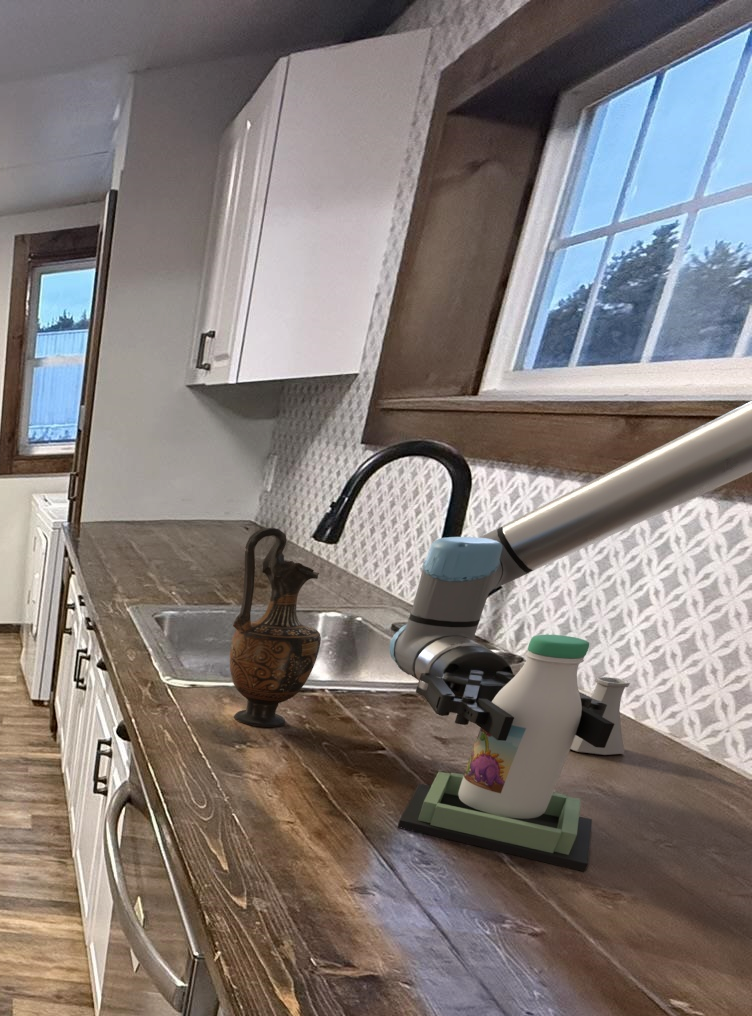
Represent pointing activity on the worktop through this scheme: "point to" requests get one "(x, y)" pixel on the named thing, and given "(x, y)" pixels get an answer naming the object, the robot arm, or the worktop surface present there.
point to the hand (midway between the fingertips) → (554, 732)
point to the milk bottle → (529, 733)
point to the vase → (272, 637)
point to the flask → (606, 716)
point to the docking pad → (501, 825)
